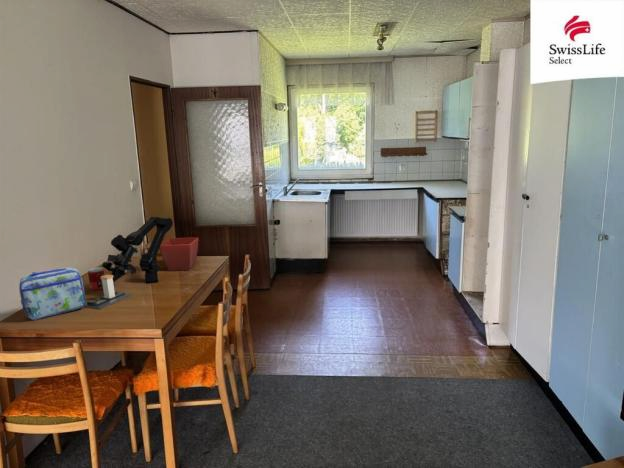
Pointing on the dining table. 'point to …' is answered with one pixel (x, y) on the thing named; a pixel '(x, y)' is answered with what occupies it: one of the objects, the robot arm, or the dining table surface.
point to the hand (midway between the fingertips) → (111, 282)
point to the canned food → (95, 278)
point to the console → (106, 300)
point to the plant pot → (179, 253)
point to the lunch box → (51, 292)
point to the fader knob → (108, 286)
